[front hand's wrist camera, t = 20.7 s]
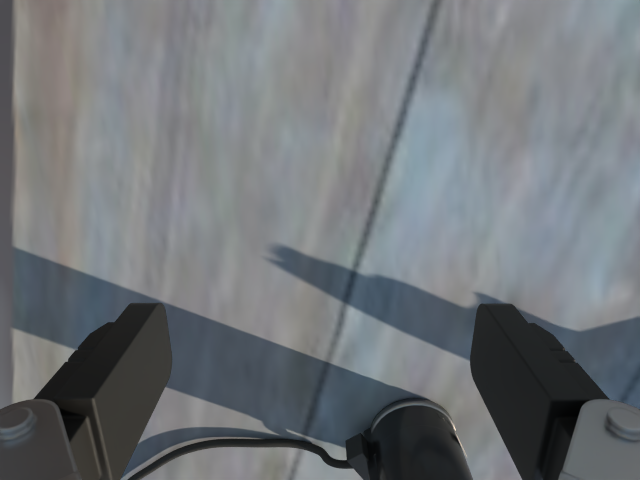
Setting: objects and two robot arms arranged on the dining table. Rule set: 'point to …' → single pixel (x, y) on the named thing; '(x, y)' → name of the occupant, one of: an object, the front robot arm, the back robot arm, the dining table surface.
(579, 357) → the dining table surface
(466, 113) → the dining table surface
